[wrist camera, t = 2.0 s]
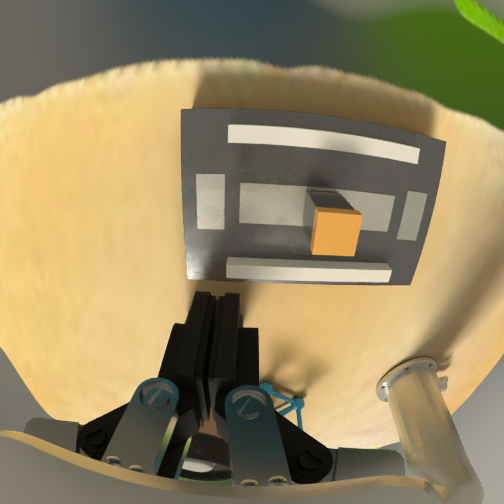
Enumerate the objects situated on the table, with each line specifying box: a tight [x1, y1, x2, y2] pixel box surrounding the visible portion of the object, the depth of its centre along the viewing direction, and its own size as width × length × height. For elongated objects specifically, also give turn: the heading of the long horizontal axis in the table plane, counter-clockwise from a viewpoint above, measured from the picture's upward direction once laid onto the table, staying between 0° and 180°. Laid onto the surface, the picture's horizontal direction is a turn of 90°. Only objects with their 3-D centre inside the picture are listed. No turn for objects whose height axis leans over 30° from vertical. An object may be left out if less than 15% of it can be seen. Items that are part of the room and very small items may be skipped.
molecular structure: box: [259, 382, 304, 430], centre depth 40 cm, size 10×10×10 cm
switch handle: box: [303, 191, 363, 256], centre depth 22 cm, size 3×3×5 cm
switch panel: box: [181, 108, 446, 285], centre depth 25 cm, size 24×16×5 cm, turn 88°
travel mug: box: [179, 300, 243, 481], centre depth 27 cm, size 8×8×20 cm
